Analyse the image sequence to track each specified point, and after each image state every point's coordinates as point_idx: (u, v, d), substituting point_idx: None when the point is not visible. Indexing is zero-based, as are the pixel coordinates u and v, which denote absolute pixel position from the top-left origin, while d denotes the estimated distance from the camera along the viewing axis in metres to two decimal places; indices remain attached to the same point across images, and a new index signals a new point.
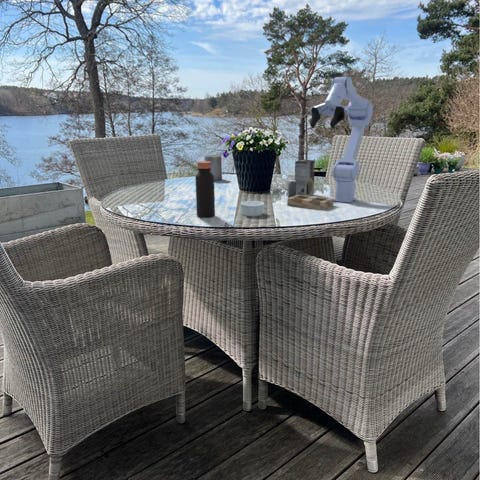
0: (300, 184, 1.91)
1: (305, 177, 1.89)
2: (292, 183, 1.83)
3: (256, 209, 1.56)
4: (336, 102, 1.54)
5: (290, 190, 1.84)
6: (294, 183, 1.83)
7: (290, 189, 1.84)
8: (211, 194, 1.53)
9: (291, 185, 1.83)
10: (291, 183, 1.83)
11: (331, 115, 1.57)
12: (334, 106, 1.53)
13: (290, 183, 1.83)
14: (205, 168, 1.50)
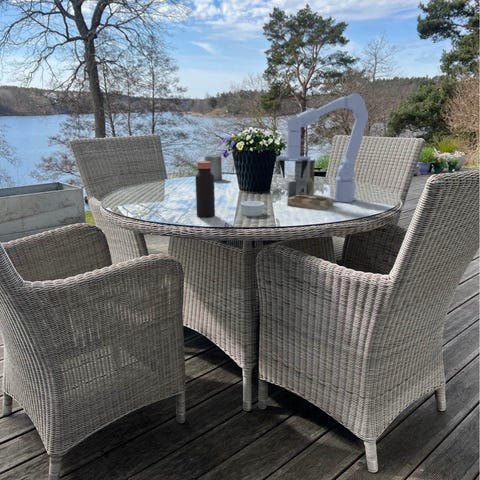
0: (300, 184, 1.91)
1: (305, 177, 1.89)
2: (292, 183, 1.83)
3: (256, 209, 1.56)
4: None
5: (290, 190, 1.84)
6: (294, 183, 1.83)
7: (290, 189, 1.84)
8: (211, 194, 1.53)
9: (291, 185, 1.83)
10: (291, 183, 1.83)
11: None
12: None
13: (290, 183, 1.83)
14: (205, 168, 1.50)
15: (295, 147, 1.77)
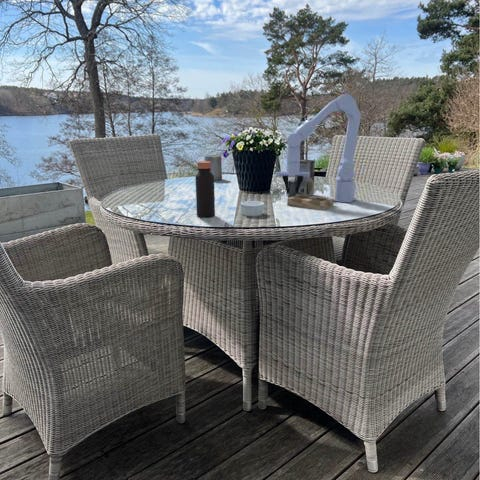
0: (300, 184, 1.91)
1: (305, 177, 1.89)
2: (292, 183, 1.83)
3: (256, 209, 1.56)
4: None
5: (290, 190, 1.84)
6: (294, 183, 1.83)
7: (290, 189, 1.84)
8: (211, 194, 1.53)
9: (291, 185, 1.83)
10: (291, 183, 1.83)
11: (292, 175, 1.81)
12: None
13: (290, 183, 1.83)
14: (205, 168, 1.50)
15: (294, 163, 1.79)
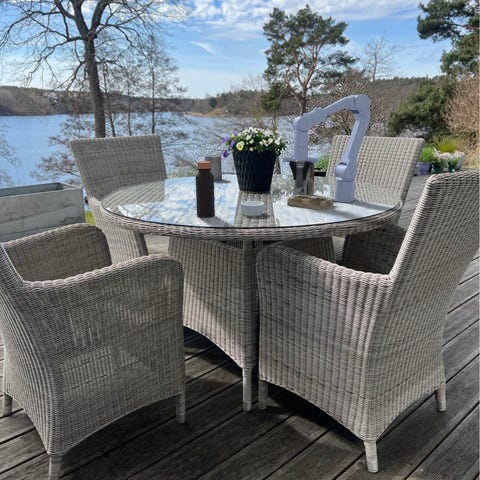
0: None
1: None
2: (299, 169, 1.74)
3: (256, 209, 1.56)
4: None
5: (297, 177, 1.75)
6: (301, 169, 1.74)
7: (297, 175, 1.75)
8: (211, 194, 1.53)
9: (298, 171, 1.74)
10: (298, 169, 1.74)
11: None
12: None
13: (297, 169, 1.74)
14: (205, 168, 1.50)
15: (301, 148, 1.70)
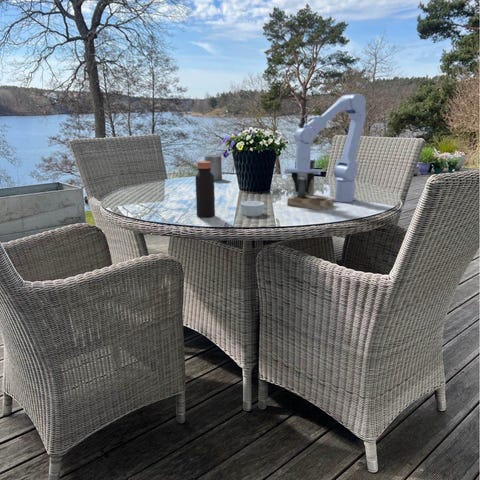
0: None
1: (305, 177, 1.89)
2: (302, 181, 1.72)
3: (256, 209, 1.56)
4: None
5: (300, 188, 1.73)
6: (304, 181, 1.72)
7: (300, 187, 1.73)
8: (211, 194, 1.53)
9: (301, 183, 1.73)
10: (301, 181, 1.72)
11: None
12: None
13: (300, 181, 1.73)
14: (205, 168, 1.50)
15: (304, 159, 1.68)
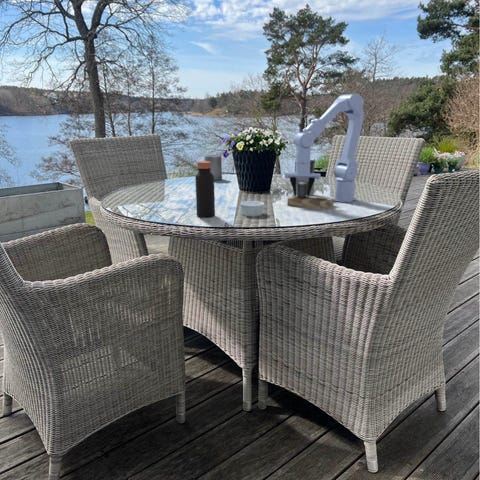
0: None
1: None
2: (302, 186, 1.73)
3: (256, 209, 1.56)
4: None
5: (299, 193, 1.74)
6: (304, 186, 1.73)
7: (299, 192, 1.74)
8: (211, 194, 1.53)
9: (301, 188, 1.73)
10: (301, 186, 1.73)
11: (301, 176, 1.71)
12: None
13: (300, 186, 1.73)
14: (205, 168, 1.50)
15: (304, 164, 1.69)
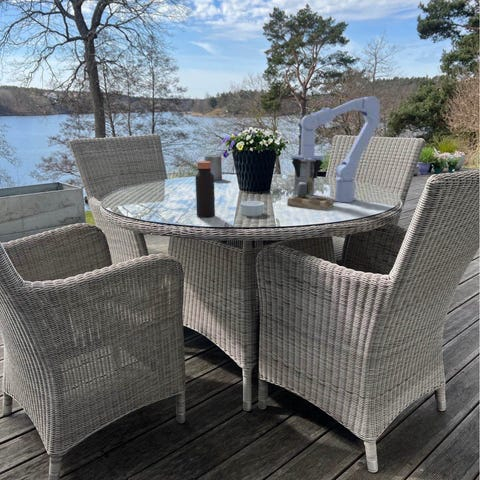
0: None
1: (305, 177, 1.89)
2: (302, 186, 1.73)
3: (256, 209, 1.56)
4: None
5: (300, 193, 1.74)
6: (304, 186, 1.73)
7: (300, 192, 1.74)
8: (211, 194, 1.53)
9: (301, 188, 1.73)
10: (301, 186, 1.73)
11: None
12: None
13: (300, 186, 1.73)
14: (205, 168, 1.50)
15: (306, 146, 1.74)
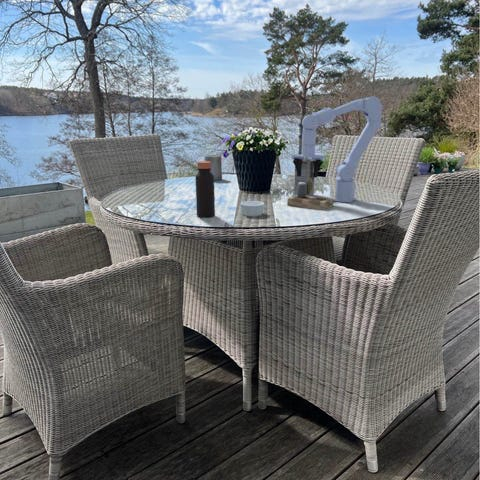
0: None
1: (305, 177, 1.89)
2: (302, 186, 1.73)
3: (256, 209, 1.56)
4: None
5: (299, 193, 1.74)
6: (304, 186, 1.73)
7: (299, 192, 1.74)
8: (211, 194, 1.53)
9: (301, 188, 1.73)
10: (300, 186, 1.73)
11: (304, 157, 1.78)
12: None
13: (299, 186, 1.73)
14: (205, 168, 1.50)
15: (307, 145, 1.75)
